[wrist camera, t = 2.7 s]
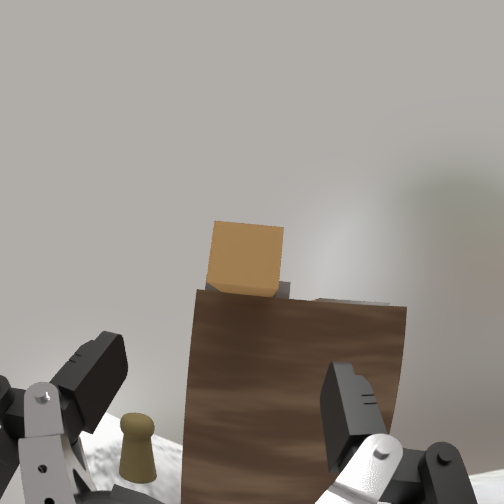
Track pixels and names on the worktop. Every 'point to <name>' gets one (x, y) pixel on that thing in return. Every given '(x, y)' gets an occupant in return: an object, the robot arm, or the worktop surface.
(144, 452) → the cork
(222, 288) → the wooden bar
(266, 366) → the walnut stand
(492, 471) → the worktop surface
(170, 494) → the worktop surface
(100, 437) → the worktop surface
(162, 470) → the worktop surface
